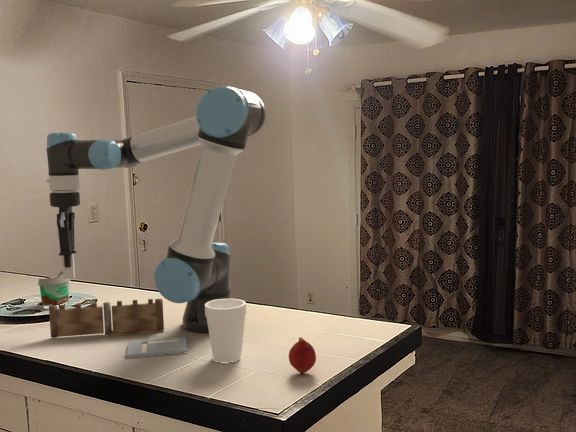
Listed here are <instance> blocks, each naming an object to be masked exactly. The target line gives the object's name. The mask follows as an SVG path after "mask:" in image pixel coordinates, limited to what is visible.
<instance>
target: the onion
mask: <svg viewBox="0 0 576 432" xmlns="http://www.w3.org/2000/svg"><path fill="white" fill-rule="evenodd" d="M316 354H317V353H316V351H315V349H314V346H313V345H312V344H311V343H309V342H308V341H306V340H305V339H304V338H303V337H302V336H300V337H298V341H296V342H295V343H294V344H293V345H292V346H291V348H290V350H289V352H288V359H289V360H288V361H289V364H290V366H291V367H293V368H294V369H295V371H297V372H298V373H299V372H300V373H299V374H301V373H304V372H305V373H308V371H310V370H311V369H312V368H313V367H314V366H315V363H316V361H317V356H316ZM305 373H304V374H305Z"/></svg>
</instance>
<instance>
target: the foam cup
mask: <svg viewBox="0 0 576 432" xmlns="http://www.w3.org/2000/svg"><path fill="white" fill-rule="evenodd" d="M246 315H247V303H246V301H245V300H242V299H238V298H232V299H217V300H212V301H209V302H207V303H205V316H206V318H207V324H208V330H209V332H208V335H209V341H210V347H211V353H212V358H214V359H213V361H214V360H215V361H217V362H231V361H236V360H238V359H239V358H240V357H241V358H242V350H243V340H244V331H245V330H244V329H245V321H246ZM215 361H214V362H215ZM217 362H216V363H217Z"/></svg>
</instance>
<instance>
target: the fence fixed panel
mask: <svg viewBox="0 0 576 432" xmlns="http://www.w3.org/2000/svg"><path fill="white" fill-rule="evenodd" d="M147 302H148V303H138V299H132V304H130V303H129V304H123V300H117V301H116V305H115V304H114V305H111V302H110V301H106V302H103V303H102V305H103V323H104V335H105V336H108V337H118V336H119V337H120V336H131V335H132V336H133V335H146V334H157V333H159V332H161V333H164V331H165V322H164V321H165V320H164V303H163V302H164V300H163V298H155V299H154V298H148V299H147Z"/></svg>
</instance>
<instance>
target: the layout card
mask: <svg viewBox="0 0 576 432" xmlns="http://www.w3.org/2000/svg"><path fill="white" fill-rule="evenodd" d="M127 344H128V345H127V350H126V354H125V357H126V359H132V358H131V357H135V358H143V357H144V358H145V356H147V357H154V356H155V355H159V356H166V355H165V354H171V355H176V354H175V353H183V354H186V353H185V352H187V353H188V349H187V337H186V336H181V337H179V336H178V337H168V338H156V339H155V338H154V339H143V340H131V341H129V342H128V343H127ZM155 357H156V356H155Z"/></svg>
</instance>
